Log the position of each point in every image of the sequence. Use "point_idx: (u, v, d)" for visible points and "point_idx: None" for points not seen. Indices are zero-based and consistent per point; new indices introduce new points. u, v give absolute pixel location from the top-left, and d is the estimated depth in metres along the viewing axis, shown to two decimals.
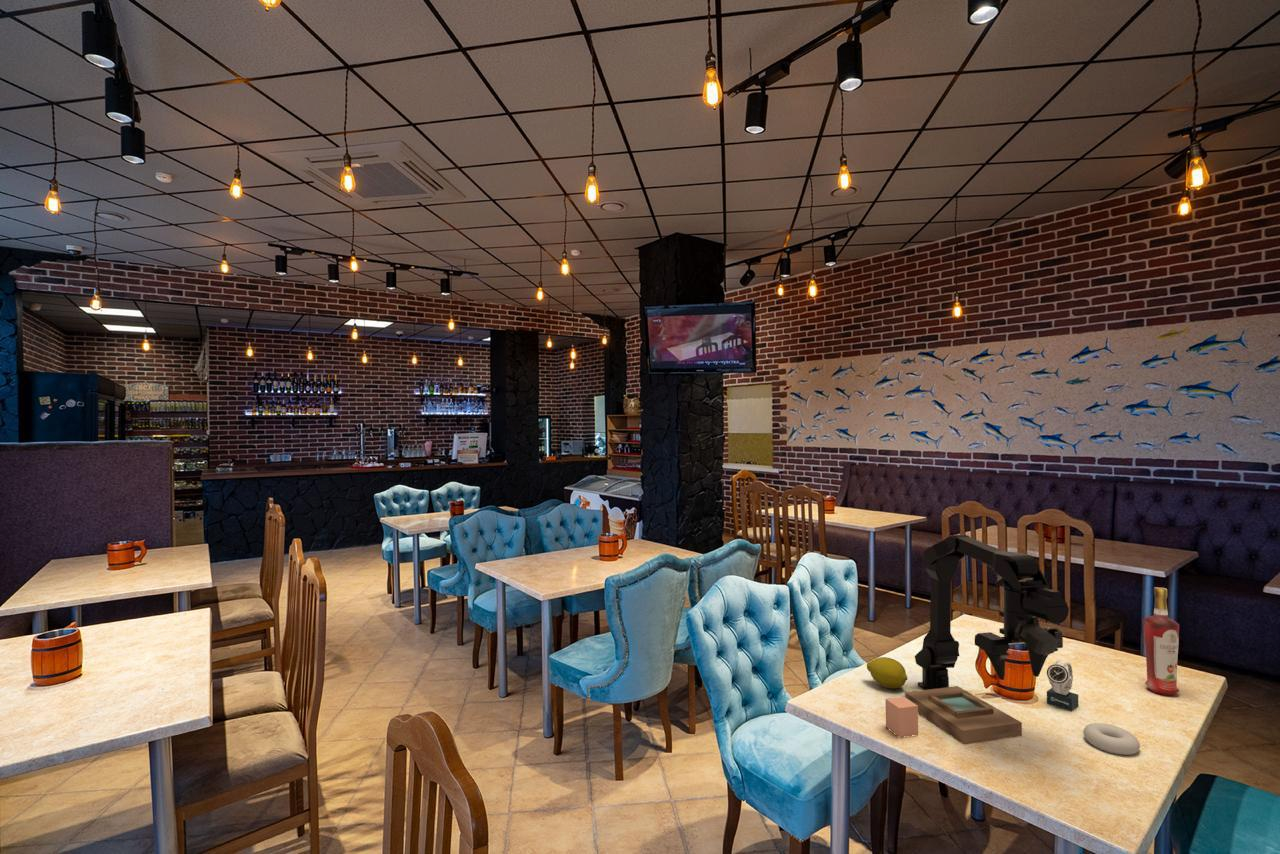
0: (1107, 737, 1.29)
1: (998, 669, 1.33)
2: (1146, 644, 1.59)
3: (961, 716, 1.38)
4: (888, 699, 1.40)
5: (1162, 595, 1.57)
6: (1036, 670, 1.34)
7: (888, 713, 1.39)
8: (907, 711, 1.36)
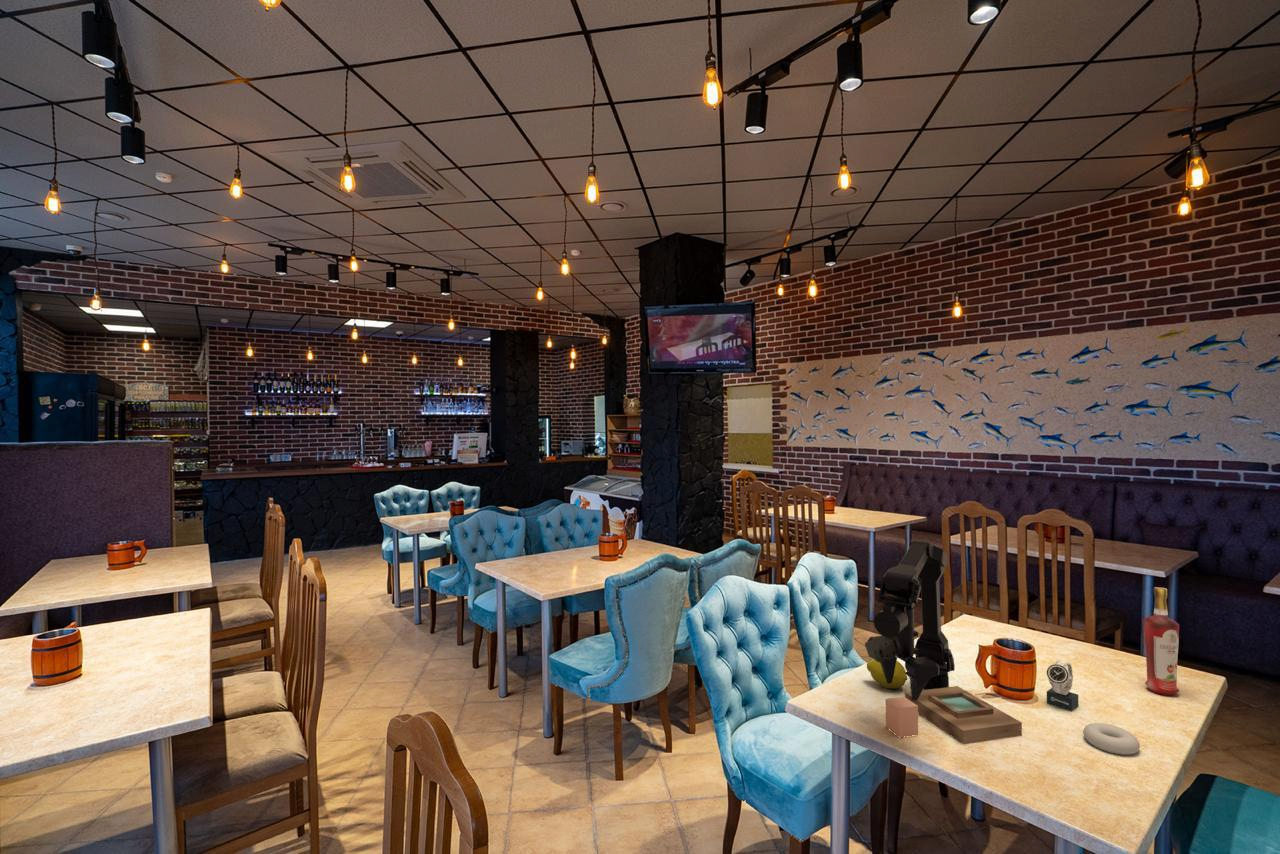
0: (1106, 737, 1.29)
1: None
2: (1146, 644, 1.59)
3: (961, 716, 1.38)
4: (888, 699, 1.40)
5: (1162, 595, 1.57)
6: None
7: (888, 713, 1.39)
8: (907, 711, 1.36)
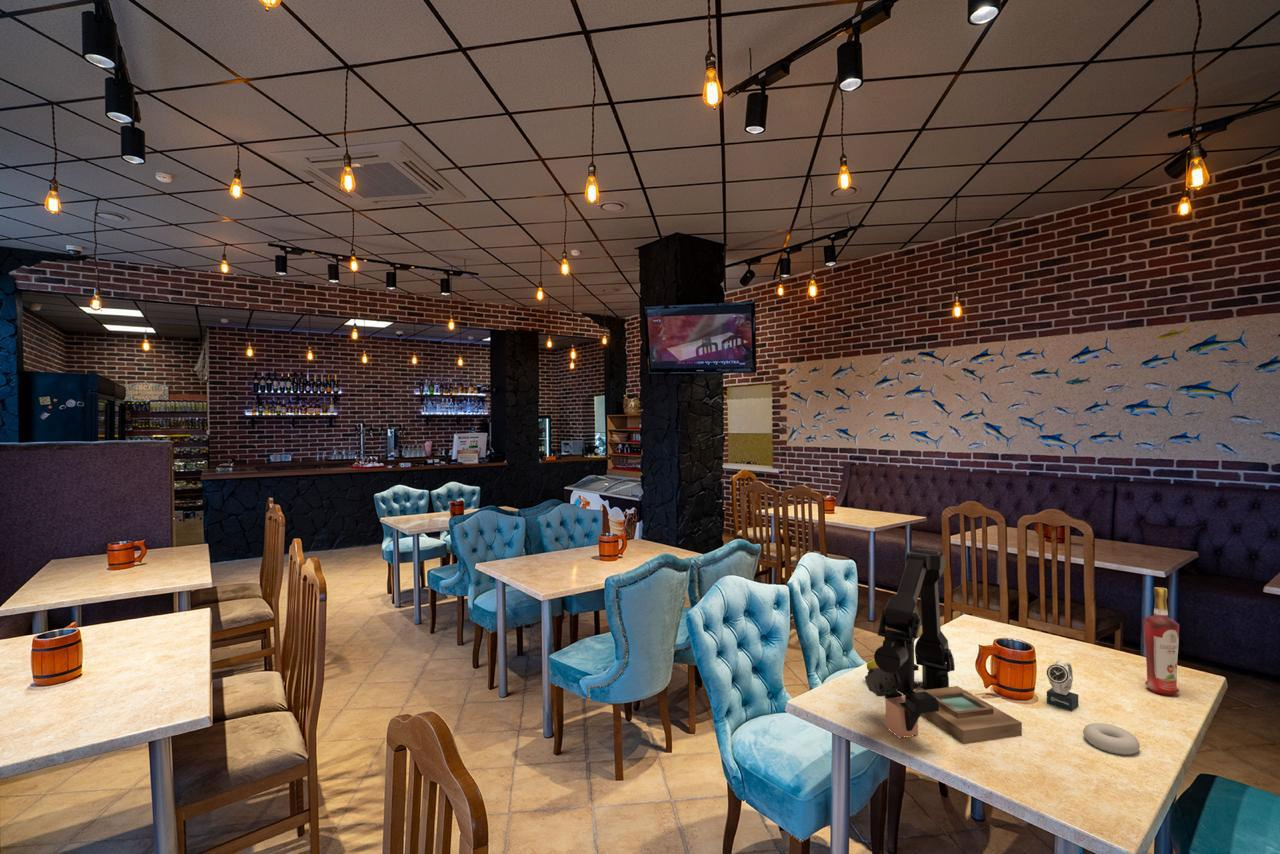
0: (1106, 737, 1.30)
1: None
2: (1146, 644, 1.59)
3: (961, 716, 1.38)
4: (888, 699, 1.40)
5: (1162, 595, 1.57)
6: None
7: (888, 713, 1.39)
8: None
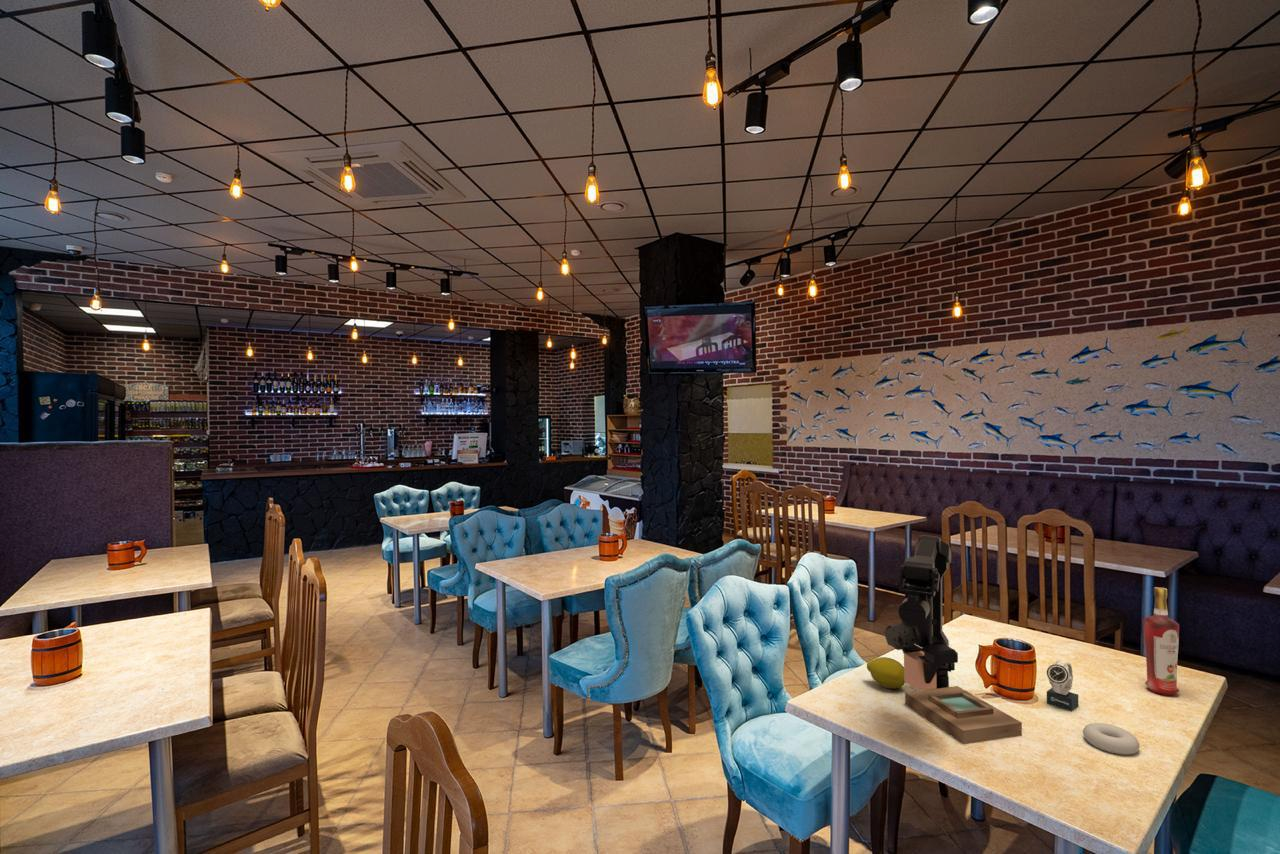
0: (1106, 736, 1.30)
1: None
2: (1146, 644, 1.59)
3: (961, 716, 1.38)
4: (906, 653, 1.42)
5: (1162, 595, 1.57)
6: None
7: (906, 667, 1.42)
8: None
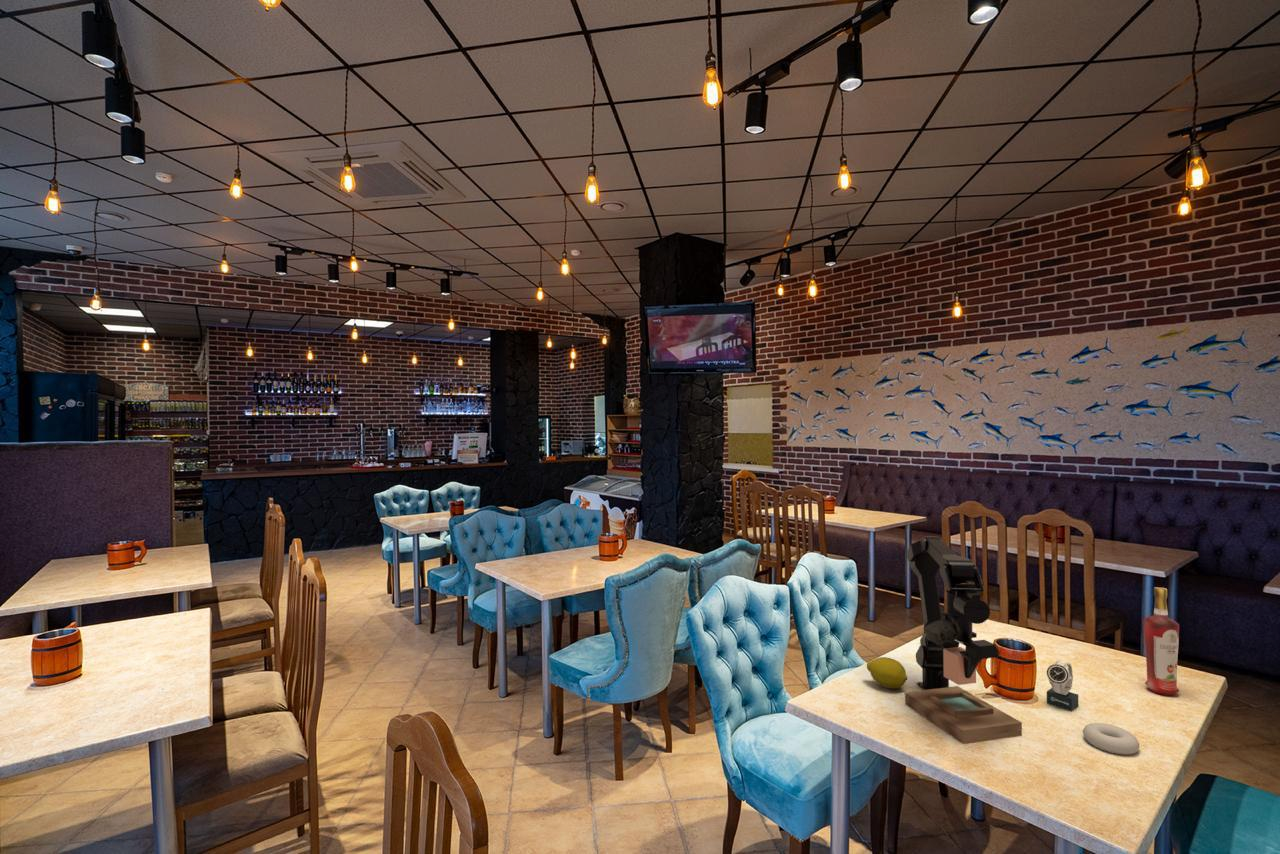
0: (1106, 736, 1.30)
1: None
2: (1146, 644, 1.59)
3: (961, 716, 1.38)
4: (946, 649, 1.46)
5: (1162, 595, 1.57)
6: None
7: (946, 662, 1.45)
8: None
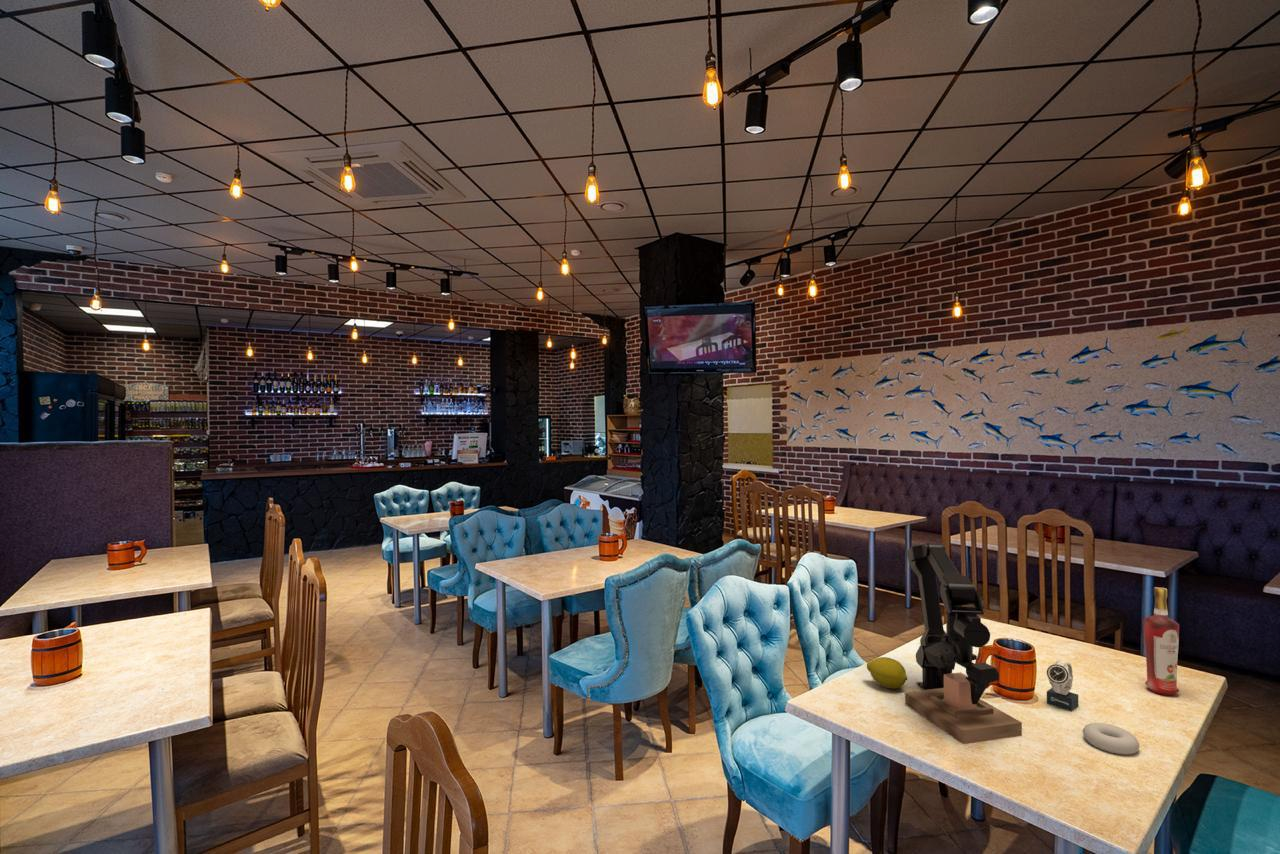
0: (1106, 736, 1.30)
1: None
2: (1146, 644, 1.59)
3: (961, 716, 1.38)
4: (946, 674, 1.46)
5: (1162, 595, 1.57)
6: None
7: (946, 688, 1.45)
8: (966, 686, 1.42)
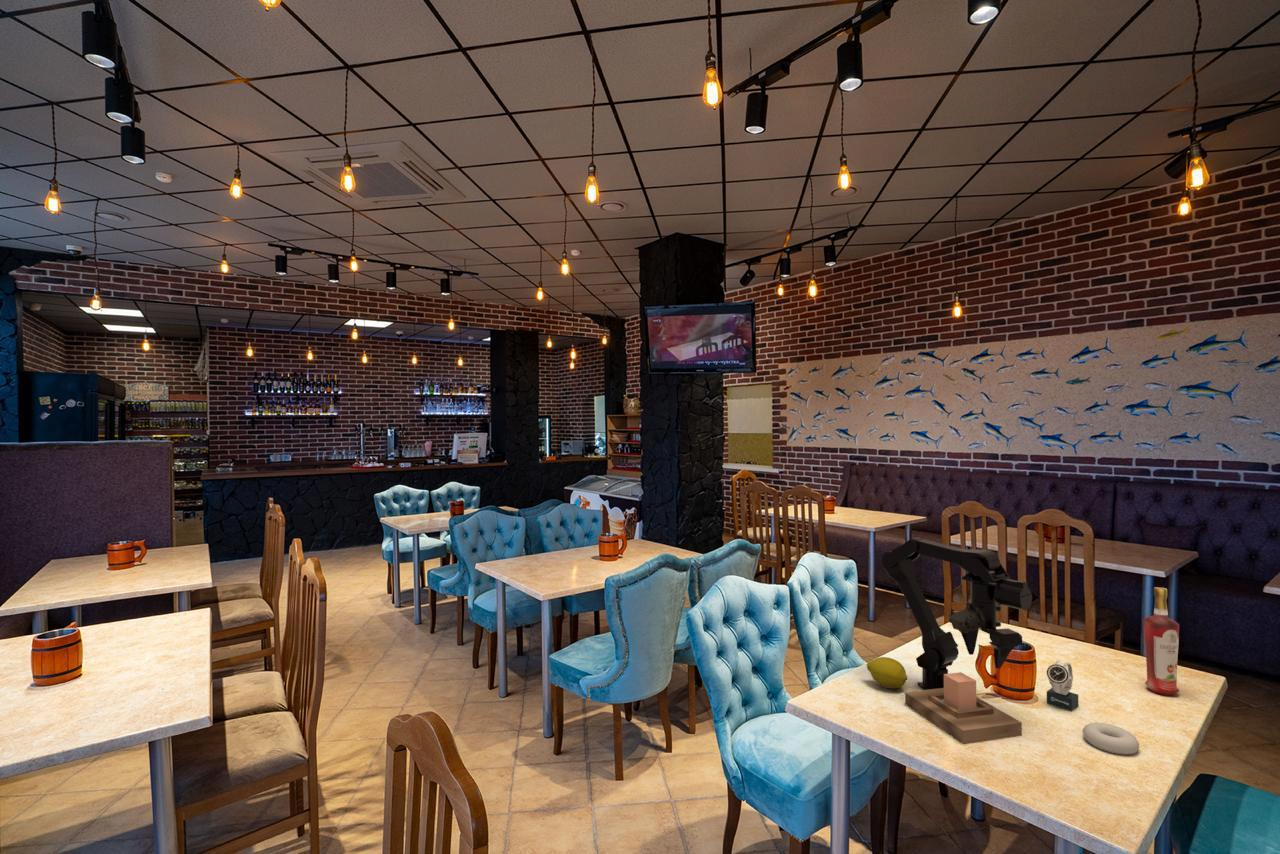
0: (1106, 736, 1.30)
1: None
2: (1146, 644, 1.59)
3: (961, 716, 1.38)
4: (946, 674, 1.46)
5: (1162, 595, 1.57)
6: None
7: (946, 688, 1.45)
8: (966, 686, 1.42)
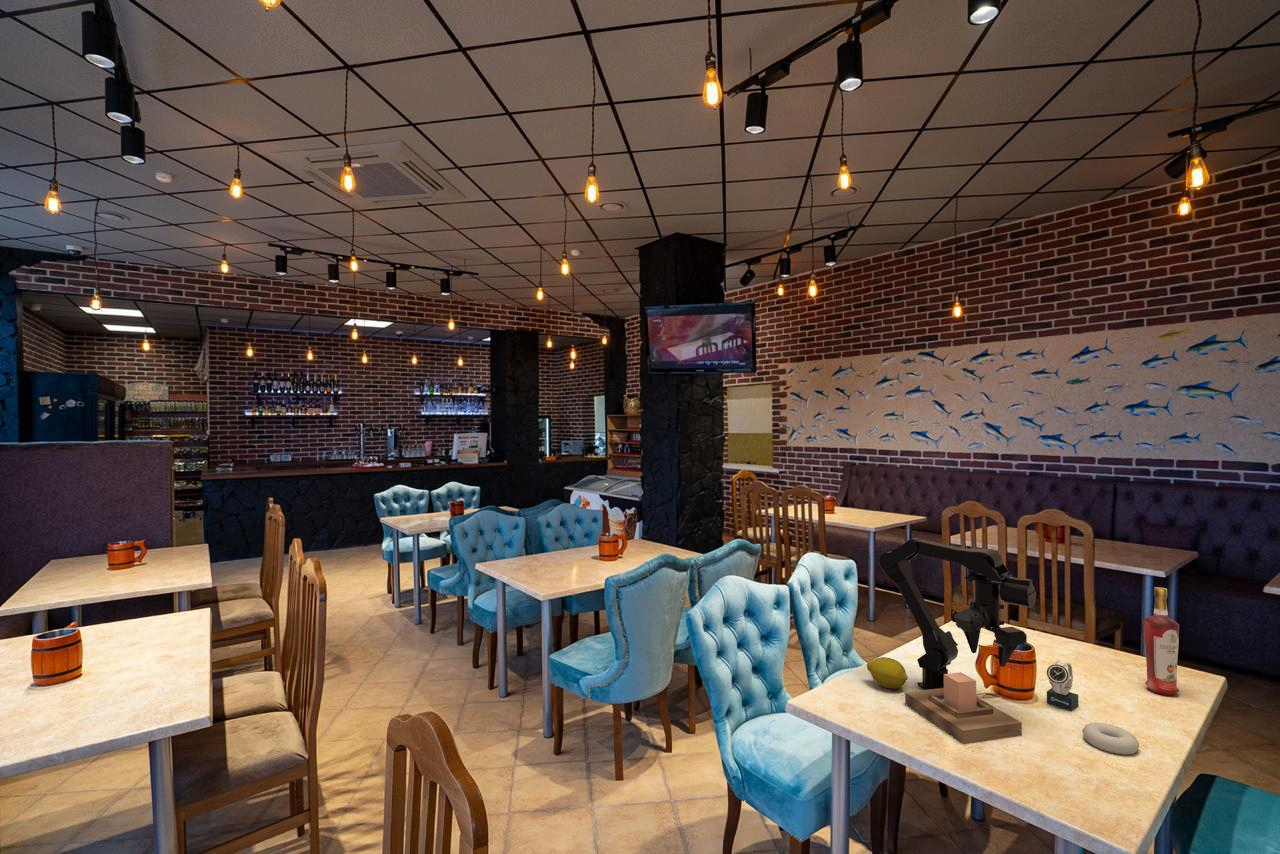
0: (1105, 736, 1.30)
1: None
2: (1146, 644, 1.59)
3: (961, 716, 1.38)
4: (946, 674, 1.46)
5: (1162, 595, 1.57)
6: None
7: (946, 688, 1.45)
8: (966, 686, 1.42)
